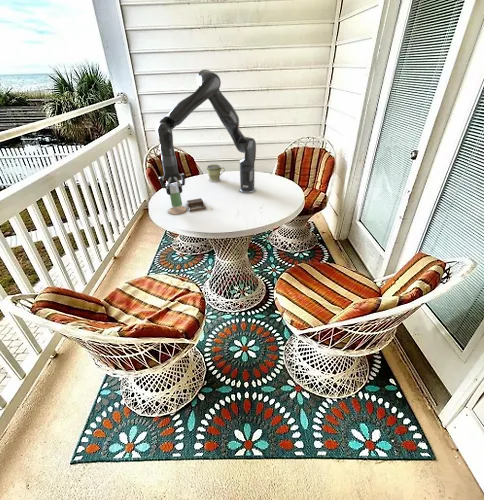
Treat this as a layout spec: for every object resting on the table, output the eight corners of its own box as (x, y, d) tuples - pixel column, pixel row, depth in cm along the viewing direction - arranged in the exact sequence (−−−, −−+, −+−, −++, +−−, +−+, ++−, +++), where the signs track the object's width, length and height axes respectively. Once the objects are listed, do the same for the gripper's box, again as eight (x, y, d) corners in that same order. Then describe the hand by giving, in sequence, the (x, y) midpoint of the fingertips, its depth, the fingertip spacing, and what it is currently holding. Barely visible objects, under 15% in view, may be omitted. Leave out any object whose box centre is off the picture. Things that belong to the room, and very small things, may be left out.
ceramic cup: (206, 182, 195) (204, 168, 190) (209, 177, 203) (208, 164, 198) (224, 183, 193) (223, 169, 188) (226, 178, 201) (226, 164, 196)
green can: (168, 191, 160) (166, 180, 149) (178, 190, 162) (177, 178, 150) (172, 210, 158) (171, 200, 146) (183, 209, 159) (182, 199, 147)
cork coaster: (175, 206, 164) (175, 205, 164) (189, 208, 161) (189, 207, 161) (165, 213, 157) (165, 212, 157) (180, 215, 154) (180, 214, 153)
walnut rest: (187, 204, 165) (186, 200, 163) (201, 202, 167) (201, 198, 166) (190, 211, 157) (189, 207, 156) (205, 209, 159) (205, 204, 158)
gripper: (156, 167, 139) (162, 198, 148) (184, 163, 142) (188, 194, 152) (155, 163, 145) (161, 193, 154) (182, 159, 148) (186, 189, 158)
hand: (174, 193), depth 153 cm, fingers closed on green can, 6 cm apart
